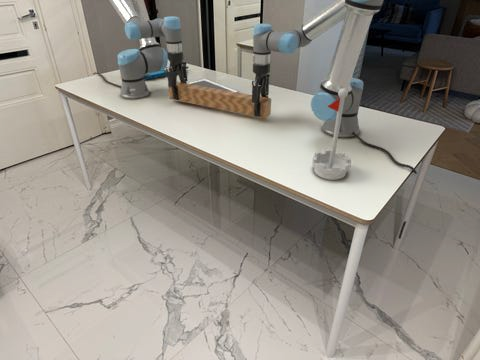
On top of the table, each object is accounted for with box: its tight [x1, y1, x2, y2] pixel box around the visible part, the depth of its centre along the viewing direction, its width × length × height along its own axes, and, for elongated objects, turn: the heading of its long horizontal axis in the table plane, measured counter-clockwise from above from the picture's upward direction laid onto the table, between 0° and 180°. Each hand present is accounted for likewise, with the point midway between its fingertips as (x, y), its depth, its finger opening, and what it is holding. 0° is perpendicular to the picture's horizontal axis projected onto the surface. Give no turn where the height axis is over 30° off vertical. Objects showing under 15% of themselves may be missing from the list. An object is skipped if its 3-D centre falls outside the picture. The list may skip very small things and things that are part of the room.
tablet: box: [187, 78, 239, 93], centre depth 198 cm, size 32×20×1 cm, turn 41°
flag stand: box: [312, 88, 352, 181], centre depth 113 cm, size 13×13×30 cm
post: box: [167, 81, 272, 119], centre depth 167 cm, size 56×6×8 cm, turn 61°
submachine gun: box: [143, 66, 189, 81], centre depth 225 cm, size 34×4×25 cm
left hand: (179, 97), depth 178 cm, fingers closed on post, 5 cm apart
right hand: (259, 113), depth 159 cm, fingers closed on post, 5 cm apart
